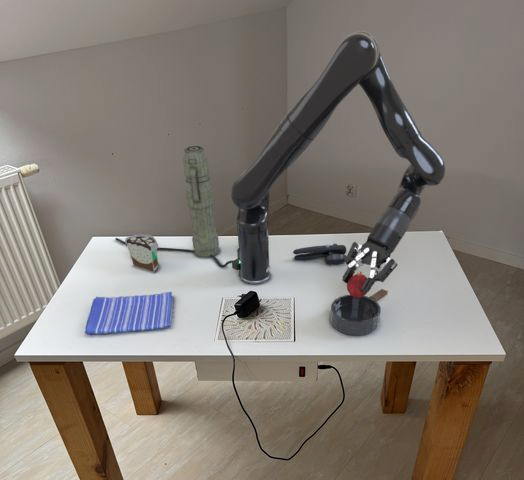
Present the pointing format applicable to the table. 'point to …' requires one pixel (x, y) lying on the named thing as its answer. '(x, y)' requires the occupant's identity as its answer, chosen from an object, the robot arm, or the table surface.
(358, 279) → the onion
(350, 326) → the pan
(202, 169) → the thermos
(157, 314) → the dish towel
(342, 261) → the can opener
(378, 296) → the pan handle
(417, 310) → the table surface
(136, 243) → the cake slice
